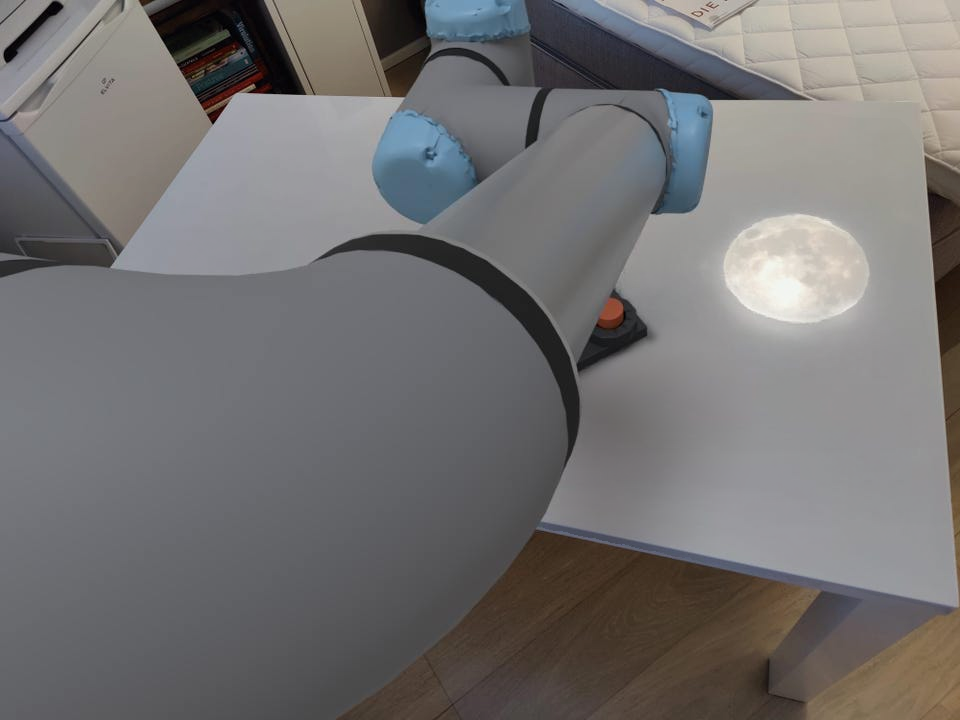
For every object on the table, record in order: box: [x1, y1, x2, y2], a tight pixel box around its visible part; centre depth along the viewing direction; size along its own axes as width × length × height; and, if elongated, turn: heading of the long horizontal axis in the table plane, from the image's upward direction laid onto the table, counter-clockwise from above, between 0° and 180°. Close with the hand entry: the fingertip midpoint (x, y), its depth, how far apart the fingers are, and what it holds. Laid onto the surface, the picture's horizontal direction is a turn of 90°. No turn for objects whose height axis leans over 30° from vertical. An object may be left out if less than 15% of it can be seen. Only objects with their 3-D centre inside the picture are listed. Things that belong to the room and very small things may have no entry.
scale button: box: [596, 298, 623, 329], centre depth 79 cm, size 3×3×2 cm
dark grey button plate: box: [576, 288, 648, 372], centre depth 83 cm, size 16×14×4 cm
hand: (528, 309), depth 80 cm, fingers open, 13 cm apart
